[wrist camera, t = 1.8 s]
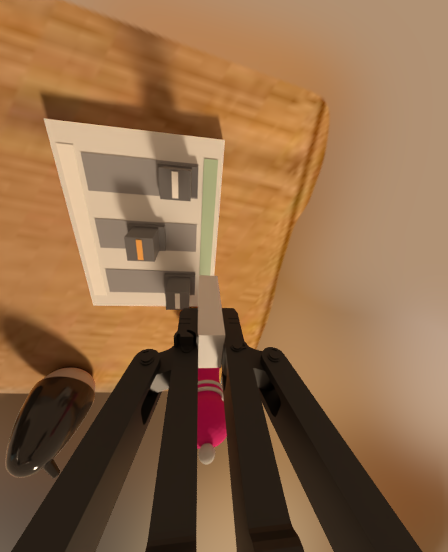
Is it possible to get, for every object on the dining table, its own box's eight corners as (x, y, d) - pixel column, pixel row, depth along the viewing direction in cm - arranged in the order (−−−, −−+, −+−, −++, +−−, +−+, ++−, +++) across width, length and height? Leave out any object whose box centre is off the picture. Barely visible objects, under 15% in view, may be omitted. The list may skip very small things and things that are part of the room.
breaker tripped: (132, 247, 28) (120, 262, 24) (128, 223, 26) (116, 235, 22) (166, 248, 28) (160, 263, 24) (165, 225, 27) (159, 237, 23)
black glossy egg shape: (78, 397, 45) (29, 496, 32) (33, 373, 40) (-46, 478, 27) (114, 379, 44) (78, 475, 30) (73, 351, 39) (8, 452, 25)
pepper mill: (192, 307, 36) (187, 444, 19) (229, 319, 39) (254, 450, 21) (178, 335, 39) (161, 476, 22) (212, 345, 41) (222, 479, 24)
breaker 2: (165, 291, 32) (160, 311, 28) (164, 273, 30) (159, 291, 26) (194, 292, 32) (194, 311, 28) (195, 274, 31) (194, 291, 27)
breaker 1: (160, 193, 25) (152, 200, 21) (158, 163, 23) (150, 164, 19) (197, 196, 25) (197, 204, 21) (198, 167, 24) (198, 169, 20)
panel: (98, 297, 33) (93, 305, 32) (55, 121, 22) (42, 118, 20) (211, 299, 36) (211, 306, 34) (223, 141, 25) (225, 139, 23)
